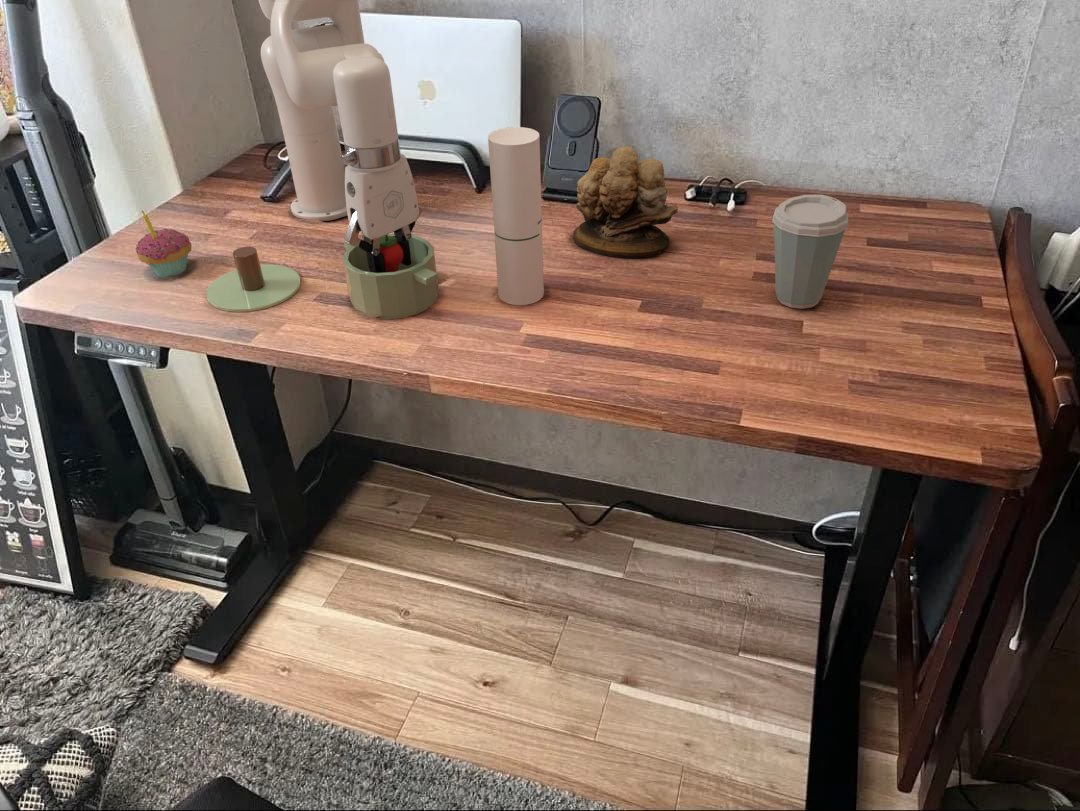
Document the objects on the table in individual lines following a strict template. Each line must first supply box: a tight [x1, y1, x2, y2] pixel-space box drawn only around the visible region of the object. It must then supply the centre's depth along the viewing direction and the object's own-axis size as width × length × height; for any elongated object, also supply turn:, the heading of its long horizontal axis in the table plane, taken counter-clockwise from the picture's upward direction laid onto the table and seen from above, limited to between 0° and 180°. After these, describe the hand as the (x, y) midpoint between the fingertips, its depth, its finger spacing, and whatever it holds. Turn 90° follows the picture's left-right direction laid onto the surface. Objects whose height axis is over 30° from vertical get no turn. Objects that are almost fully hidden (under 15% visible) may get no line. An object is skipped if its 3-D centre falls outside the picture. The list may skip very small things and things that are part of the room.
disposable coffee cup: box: [771, 194, 849, 310], centre depth 125 cm, size 11×11×15 cm
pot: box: [342, 233, 439, 320], centre depth 131 cm, size 14×19×8 cm
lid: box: [205, 246, 302, 313], centre depth 133 cm, size 15×15×7 cm
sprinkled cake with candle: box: [135, 209, 192, 278], centre depth 138 cm, size 9×8×12 cm
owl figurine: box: [572, 145, 679, 259], centre depth 140 cm, size 18×12×17 cm, turn 69°
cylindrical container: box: [487, 126, 545, 306], centre depth 125 cm, size 7×7×25 cm
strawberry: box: [380, 235, 404, 273], centre depth 128 cm, size 4×4×6 cm
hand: (390, 267), depth 130 cm, fingers closed on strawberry, 4 cm apart
